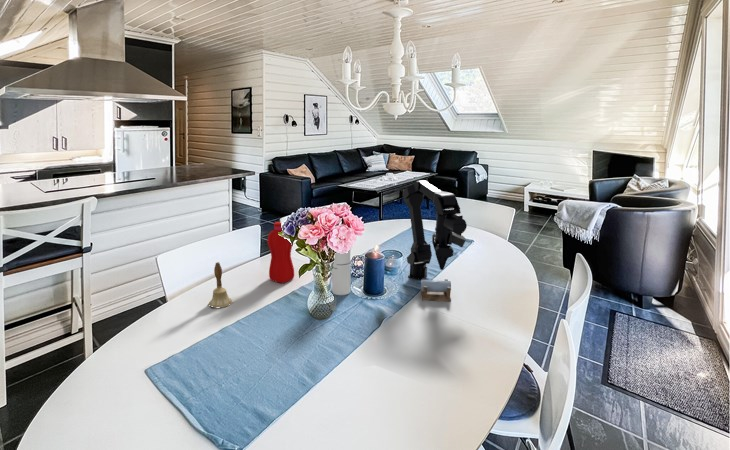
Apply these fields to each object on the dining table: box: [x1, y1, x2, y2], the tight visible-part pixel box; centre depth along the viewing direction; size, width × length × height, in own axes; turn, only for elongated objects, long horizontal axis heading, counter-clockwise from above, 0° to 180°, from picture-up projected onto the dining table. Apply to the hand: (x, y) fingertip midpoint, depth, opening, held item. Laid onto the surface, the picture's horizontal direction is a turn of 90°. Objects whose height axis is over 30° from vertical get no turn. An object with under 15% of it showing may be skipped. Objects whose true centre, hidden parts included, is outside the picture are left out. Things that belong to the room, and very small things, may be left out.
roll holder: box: [420, 278, 452, 302], centre depth 150 cm, size 11×8×6 cm
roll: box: [420, 279, 452, 292], centre depth 149 cm, size 11×4×4 cm, turn 87°
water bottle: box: [267, 221, 295, 284], centre depth 161 cm, size 9×11×25 cm
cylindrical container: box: [331, 248, 352, 296], centre depth 150 cm, size 7×7×25 cm
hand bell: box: [208, 261, 233, 308], centre depth 140 cm, size 8×8×16 cm
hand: (440, 264), depth 150 cm, fingers open, 9 cm apart
